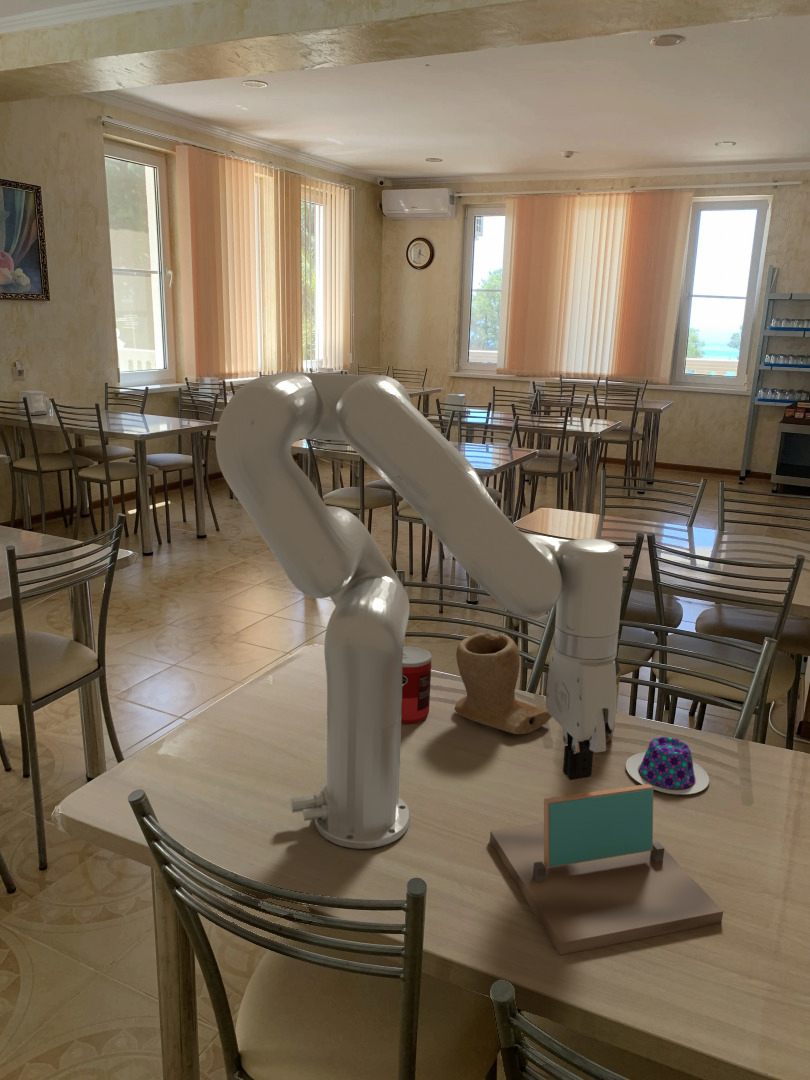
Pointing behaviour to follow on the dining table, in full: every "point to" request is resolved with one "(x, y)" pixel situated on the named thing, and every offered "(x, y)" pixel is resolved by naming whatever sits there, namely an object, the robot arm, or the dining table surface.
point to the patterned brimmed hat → (668, 767)
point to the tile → (598, 825)
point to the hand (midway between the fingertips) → (577, 775)
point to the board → (603, 893)
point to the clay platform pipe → (494, 685)
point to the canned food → (415, 684)
